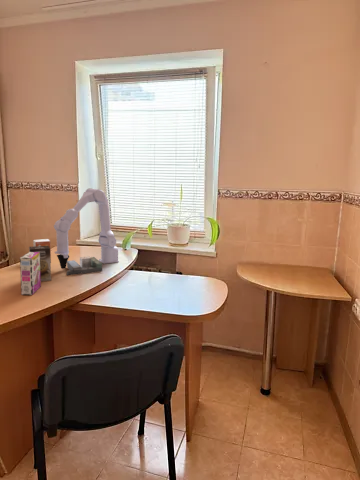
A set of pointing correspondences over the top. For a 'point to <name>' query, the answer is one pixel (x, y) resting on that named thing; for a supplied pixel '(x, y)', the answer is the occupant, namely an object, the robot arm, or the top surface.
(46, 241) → the small box
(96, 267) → the vise
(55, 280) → the top surface
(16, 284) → the top surface
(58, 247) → the robot arm
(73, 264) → the grey rectangular bar
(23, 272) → the candy bar box
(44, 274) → the coffee box
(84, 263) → the steel block
